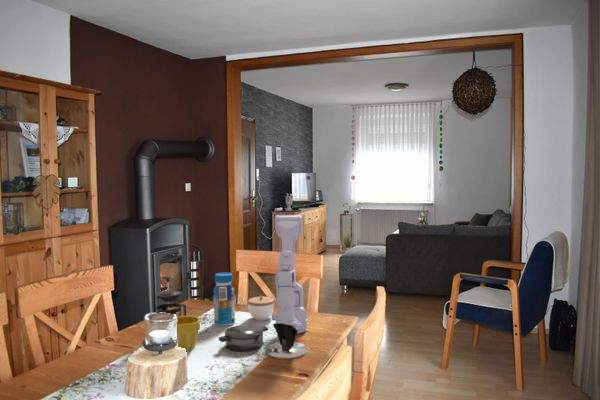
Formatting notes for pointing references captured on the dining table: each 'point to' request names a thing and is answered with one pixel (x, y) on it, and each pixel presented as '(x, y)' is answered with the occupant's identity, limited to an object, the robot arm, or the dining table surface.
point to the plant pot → (187, 331)
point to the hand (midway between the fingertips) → (286, 345)
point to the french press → (170, 300)
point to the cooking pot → (243, 338)
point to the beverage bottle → (224, 300)
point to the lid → (286, 350)
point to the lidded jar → (261, 307)
